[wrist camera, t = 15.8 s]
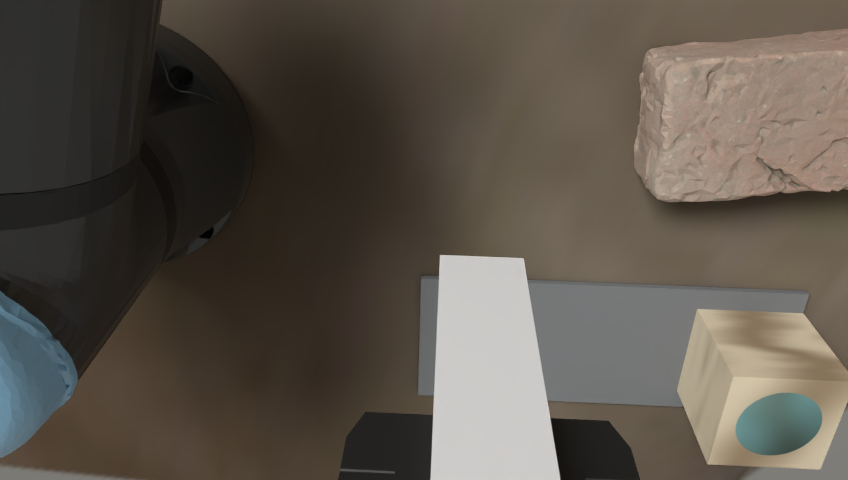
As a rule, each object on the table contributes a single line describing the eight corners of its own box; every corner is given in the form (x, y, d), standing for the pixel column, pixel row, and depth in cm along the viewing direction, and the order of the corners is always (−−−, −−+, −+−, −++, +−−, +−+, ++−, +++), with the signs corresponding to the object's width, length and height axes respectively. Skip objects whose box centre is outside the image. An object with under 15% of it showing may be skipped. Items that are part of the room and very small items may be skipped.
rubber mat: (418, 391, 52) (418, 394, 52) (421, 275, 47) (420, 278, 47) (768, 407, 51) (770, 410, 51) (806, 291, 46) (809, 294, 46)
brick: (633, 179, 44) (652, 213, 39) (638, 43, 40) (660, 64, 36) (913, 157, 42) (963, 190, 38) (948, 14, 38) (1008, 33, 34)
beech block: (820, 469, 44) (775, 394, 50) (855, 382, 41) (803, 313, 47) (707, 464, 44) (676, 390, 50) (733, 376, 41) (697, 308, 47)
